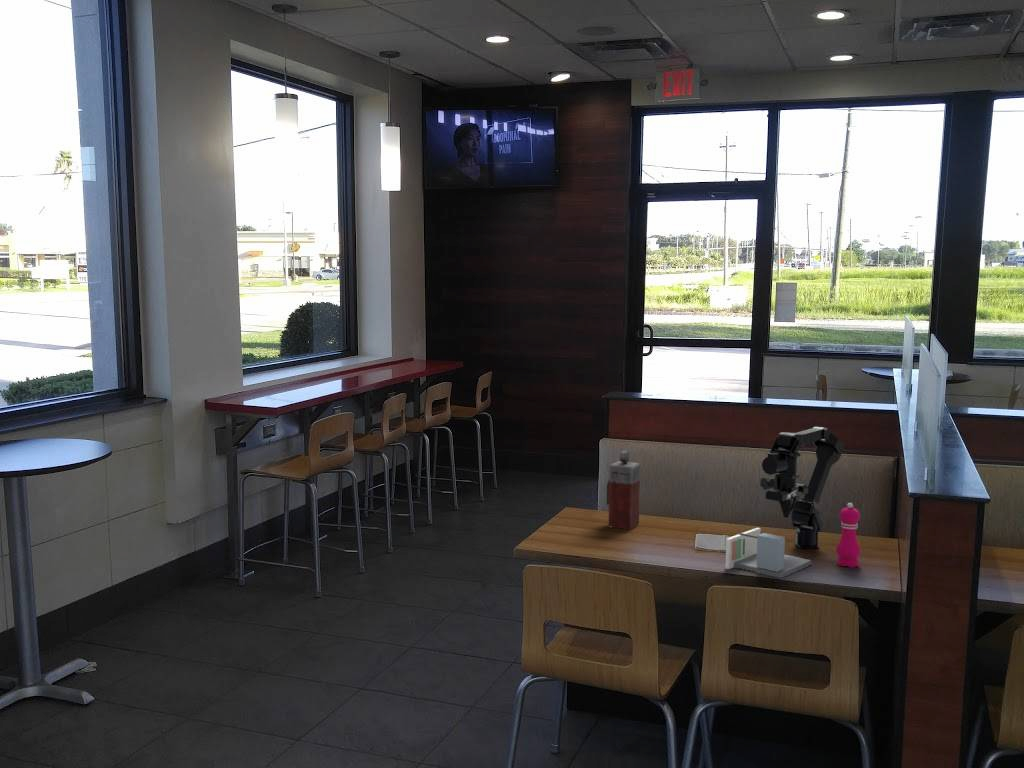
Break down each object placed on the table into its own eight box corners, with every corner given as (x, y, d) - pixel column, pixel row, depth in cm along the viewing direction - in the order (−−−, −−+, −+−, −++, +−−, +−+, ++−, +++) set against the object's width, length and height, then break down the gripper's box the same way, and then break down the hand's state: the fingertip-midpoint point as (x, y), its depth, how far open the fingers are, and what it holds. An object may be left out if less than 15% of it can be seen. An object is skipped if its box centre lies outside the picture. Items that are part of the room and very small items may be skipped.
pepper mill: (832, 561, 289) (834, 500, 287) (855, 561, 289) (857, 500, 287) (840, 567, 282) (842, 505, 280) (863, 568, 281) (865, 505, 279)
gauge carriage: (742, 558, 285) (743, 527, 284) (785, 568, 275) (786, 536, 274) (735, 561, 282) (735, 530, 281) (777, 571, 271) (778, 539, 270)
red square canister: (610, 521, 340) (611, 447, 337) (639, 524, 335) (640, 450, 332) (602, 526, 332) (603, 451, 329) (631, 529, 327) (632, 454, 324)
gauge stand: (761, 553, 297) (762, 525, 296) (810, 564, 285) (812, 535, 284) (725, 568, 281) (726, 538, 280) (775, 580, 269) (776, 549, 268)
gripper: (779, 464, 308) (777, 508, 309) (751, 471, 294) (749, 518, 296) (809, 468, 300) (808, 514, 301) (782, 476, 287) (780, 524, 288)
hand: (786, 517), depth 297 cm, fingers closed
